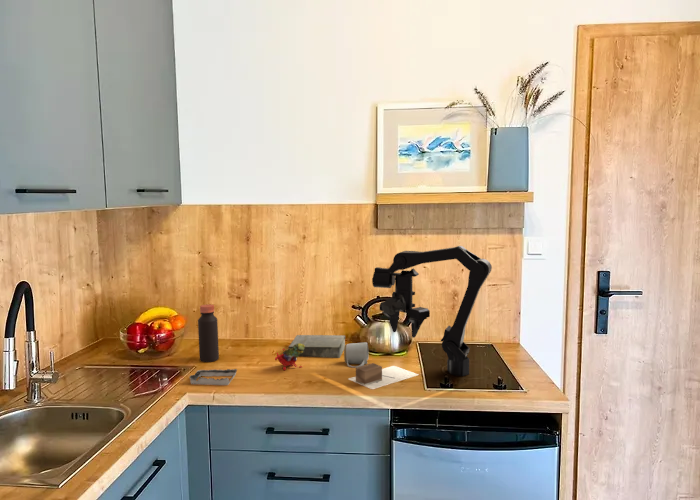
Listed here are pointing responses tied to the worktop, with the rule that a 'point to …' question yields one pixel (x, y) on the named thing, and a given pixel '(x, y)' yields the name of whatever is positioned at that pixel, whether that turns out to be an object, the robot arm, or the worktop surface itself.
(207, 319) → the bottle
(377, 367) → the sanding block
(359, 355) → the ceramic mug
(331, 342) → the stone block
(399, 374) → the board
